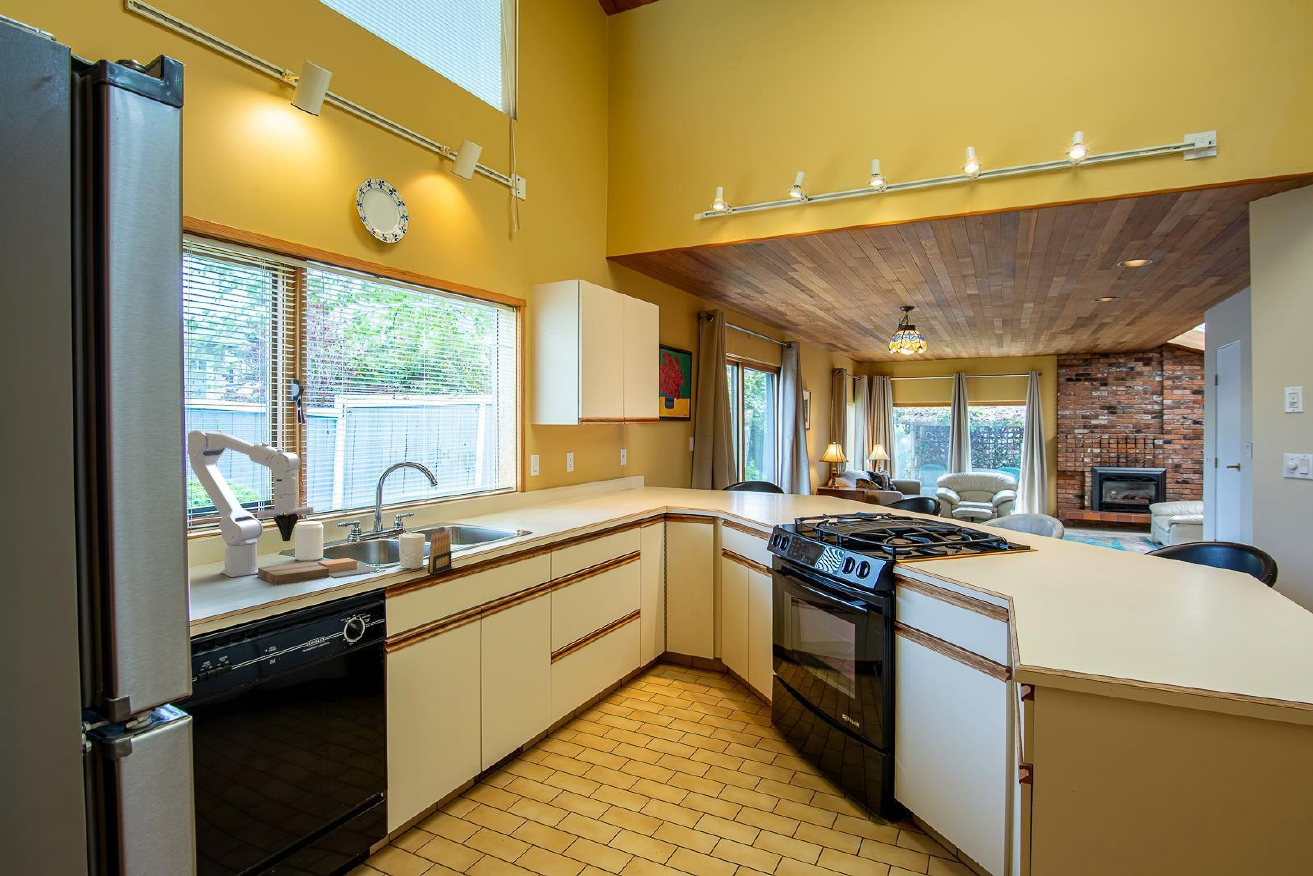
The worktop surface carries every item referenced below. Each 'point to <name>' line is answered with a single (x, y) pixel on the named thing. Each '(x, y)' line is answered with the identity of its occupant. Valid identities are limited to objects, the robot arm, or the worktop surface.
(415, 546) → the white cup
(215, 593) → the worktop surface
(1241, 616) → the worktop surface
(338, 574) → the mat
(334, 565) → the tile
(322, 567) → the brown wooden flat slab
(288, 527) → the robot arm
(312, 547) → the beverage can
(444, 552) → the ammunition clip
